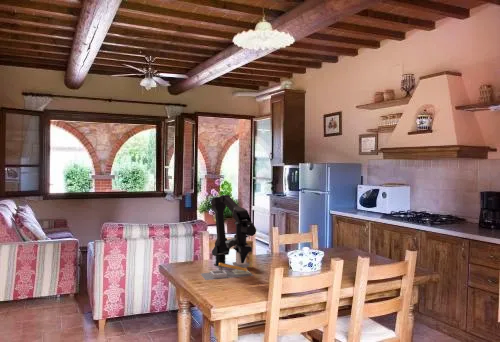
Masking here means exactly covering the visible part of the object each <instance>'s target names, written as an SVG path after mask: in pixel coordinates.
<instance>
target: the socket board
mask: <svg viewBox="0 0 500 342" xmlns="http://www.w3.org/2000/svg"><path fill="white" fill-rule="evenodd" d="M199 274H200V275H201V277H202V278H203V279H204V280H205V281H211V280H220V279H230V278H231V279H234V278H244V277H253V276H255V275H254V274H253V273H252V272H250V271H249V270H248V269H247V271H243V270H242V271H238V270H237V269H232V270H224V269H223V266H218V269H216V270H210V271H209V272H202V273H199Z"/></svg>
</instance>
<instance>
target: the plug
mask: <svg viewBox="0 0 500 342" xmlns="http://www.w3.org/2000/svg"><path fill="white" fill-rule="evenodd" d="M232 265H234V266H239V267H244V268H247V266H250V264H248V263H247V262H246V259H245V261H244V263H241V257H240V253H239V252H236V251H235V261H233V262H232ZM236 270H238V269H236ZM238 271H242V270H238Z"/></svg>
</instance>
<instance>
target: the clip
mask: <svg viewBox="0 0 500 342" xmlns="http://www.w3.org/2000/svg"><path fill="white" fill-rule="evenodd" d="M219 266H222V268H223V267H224V268H230V269H232V270H237V269H238V270H243V271H247V270H248V268H247V267H246V268H244V267H239V266H234V265H233V264H229V263H225V264H224V263H219ZM219 266H218V267H219Z"/></svg>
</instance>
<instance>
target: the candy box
mask: <svg viewBox="0 0 500 342" xmlns="http://www.w3.org/2000/svg"><path fill="white" fill-rule="evenodd" d="M246 243H248V245H249V246H250V247H251V248H252V252H249V253H248V255H247V256H246V262H247V263H248V264H250V266H247V267H246V268H247V269H248V268H253V266H254V265H253V263H254V262H253V261H254V259H253V258H254V257H253V255H254V251H253V250H254V249H253V248H254V241H253V240H252V239H246Z"/></svg>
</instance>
